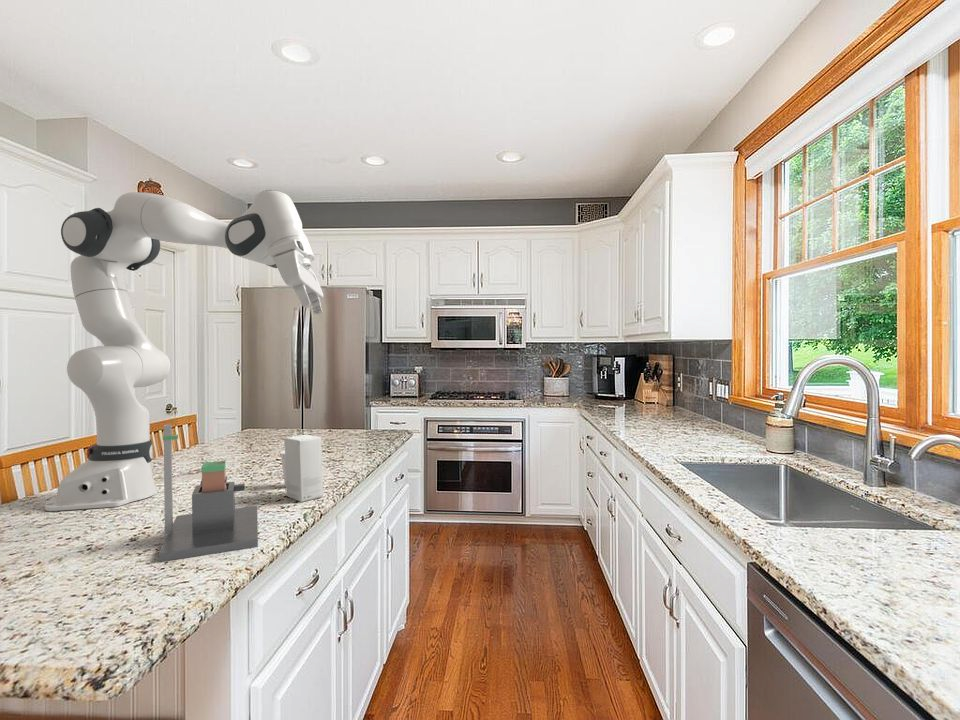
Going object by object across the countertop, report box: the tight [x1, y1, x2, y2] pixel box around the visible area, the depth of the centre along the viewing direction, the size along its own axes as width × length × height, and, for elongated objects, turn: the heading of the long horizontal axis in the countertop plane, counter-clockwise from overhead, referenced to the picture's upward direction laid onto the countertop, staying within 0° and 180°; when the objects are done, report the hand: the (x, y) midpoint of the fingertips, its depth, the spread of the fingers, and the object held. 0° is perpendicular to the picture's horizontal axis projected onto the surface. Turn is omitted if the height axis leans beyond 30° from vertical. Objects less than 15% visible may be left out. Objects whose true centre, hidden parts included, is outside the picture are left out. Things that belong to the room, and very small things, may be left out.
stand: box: [158, 424, 259, 563], centre depth 99 cm, size 17×22×23 cm
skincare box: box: [283, 434, 324, 503], centre depth 124 cm, size 8×7×16 cm
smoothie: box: [279, 435, 295, 488], centre depth 134 cm, size 6×6×14 cm
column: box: [200, 460, 228, 492], centre depth 99 cm, size 5×4×12 cm
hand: (313, 310), depth 113 cm, fingers open, 8 cm apart
